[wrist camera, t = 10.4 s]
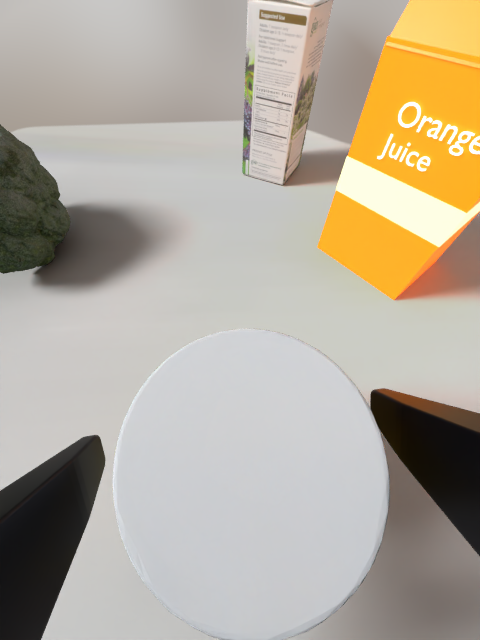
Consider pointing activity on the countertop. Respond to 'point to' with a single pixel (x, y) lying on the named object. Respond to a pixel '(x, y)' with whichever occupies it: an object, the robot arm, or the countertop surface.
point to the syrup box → (280, 82)
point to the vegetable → (27, 208)
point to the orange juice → (412, 150)
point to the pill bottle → (251, 485)
